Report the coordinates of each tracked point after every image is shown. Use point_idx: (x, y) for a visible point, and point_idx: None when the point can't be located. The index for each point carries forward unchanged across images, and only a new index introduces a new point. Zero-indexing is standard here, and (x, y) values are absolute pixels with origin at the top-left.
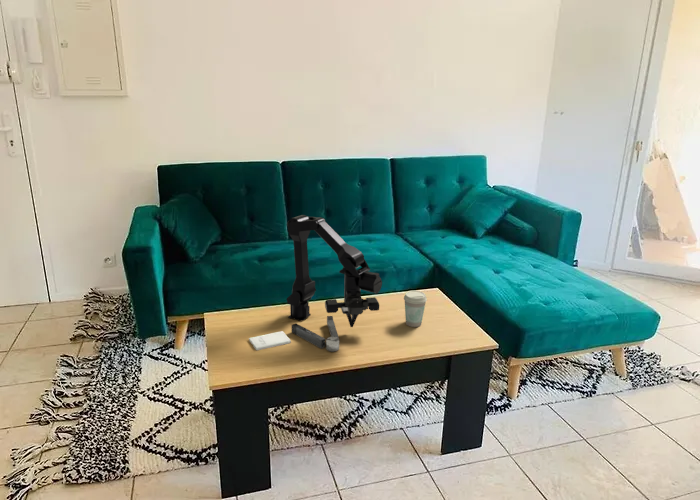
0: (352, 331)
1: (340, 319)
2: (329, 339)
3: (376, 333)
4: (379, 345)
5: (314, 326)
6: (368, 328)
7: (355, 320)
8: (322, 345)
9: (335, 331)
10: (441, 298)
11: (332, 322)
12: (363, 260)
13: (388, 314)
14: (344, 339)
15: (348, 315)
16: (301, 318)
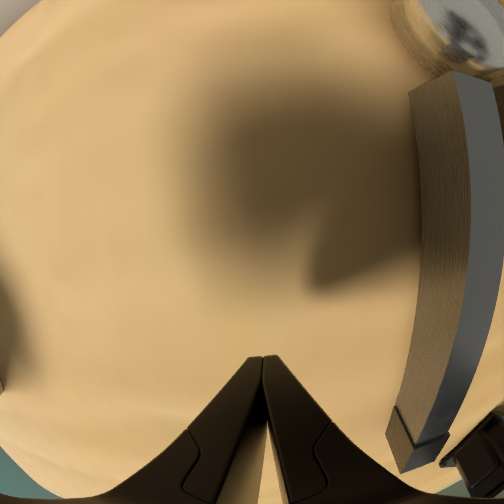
0: (251, 355)
1: None
2: (501, 26)
3: (65, 305)
4: (48, 109)
5: (476, 384)
6: (127, 382)
7: (196, 417)
8: (502, 76)
9: (482, 204)
10: (9, 455)
11: (443, 402)
12: None
13: (79, 458)
14: (345, 199)
15: (368, 501)
16: (490, 425)
